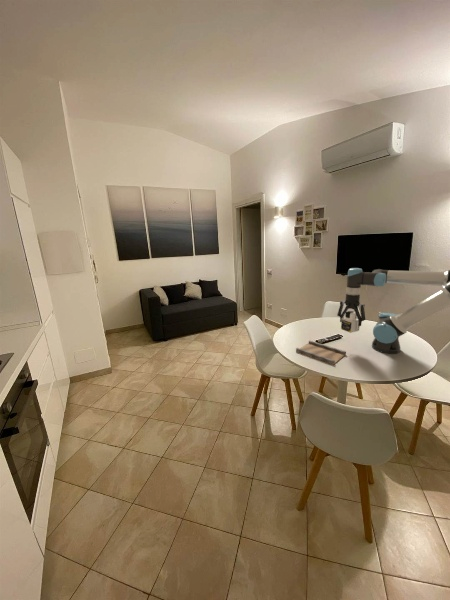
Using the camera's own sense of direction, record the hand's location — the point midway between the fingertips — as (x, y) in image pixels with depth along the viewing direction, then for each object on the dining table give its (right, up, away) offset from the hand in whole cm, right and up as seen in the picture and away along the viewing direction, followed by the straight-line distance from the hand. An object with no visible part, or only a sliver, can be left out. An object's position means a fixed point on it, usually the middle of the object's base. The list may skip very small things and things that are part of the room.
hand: (349, 328), depth 152 cm
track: (-19, -15, -1) cm, 24 cm away
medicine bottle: (0, -1, 0) cm, 1 cm away
